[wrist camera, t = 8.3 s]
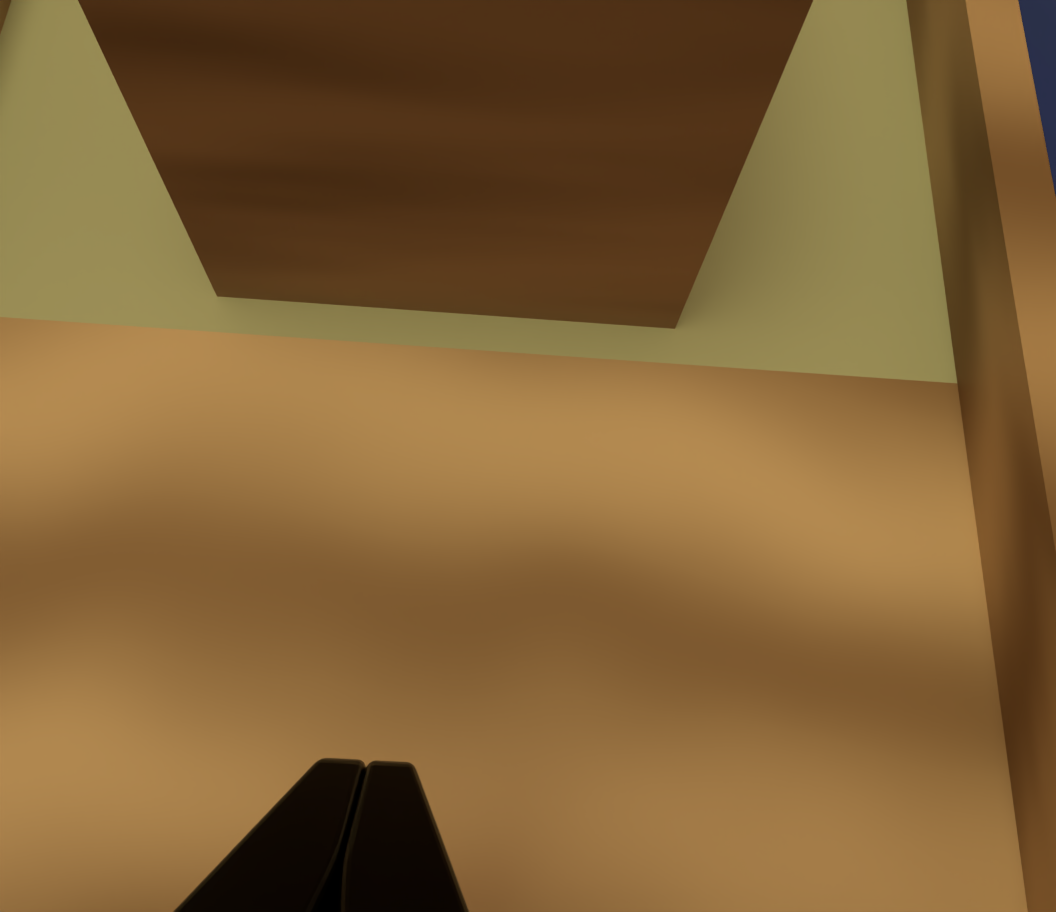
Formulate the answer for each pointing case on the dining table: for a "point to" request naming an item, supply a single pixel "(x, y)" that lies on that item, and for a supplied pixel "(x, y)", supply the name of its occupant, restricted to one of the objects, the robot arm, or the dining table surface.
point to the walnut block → (452, 144)
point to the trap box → (551, 520)
